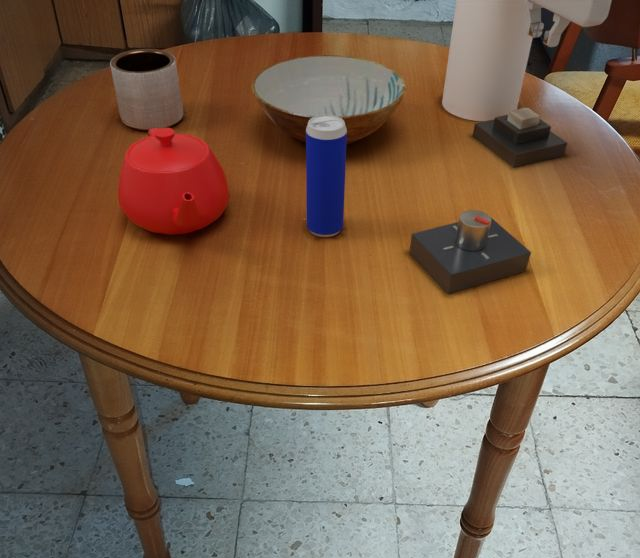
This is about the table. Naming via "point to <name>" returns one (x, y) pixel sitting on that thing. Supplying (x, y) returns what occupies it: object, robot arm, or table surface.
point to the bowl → (328, 93)
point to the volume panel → (468, 257)
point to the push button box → (519, 141)
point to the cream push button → (523, 118)
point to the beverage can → (325, 174)
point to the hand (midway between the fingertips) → (541, 40)
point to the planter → (147, 88)
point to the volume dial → (473, 230)
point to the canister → (486, 58)
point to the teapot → (172, 183)
